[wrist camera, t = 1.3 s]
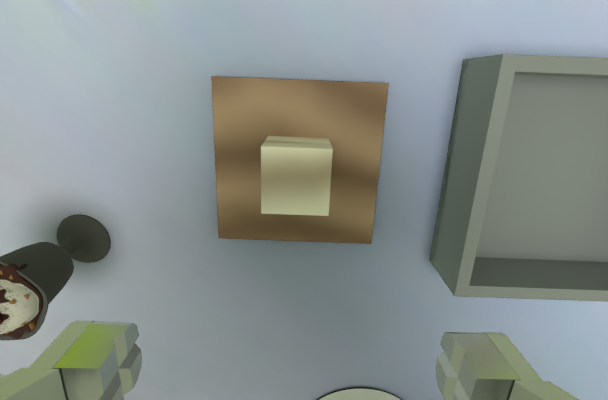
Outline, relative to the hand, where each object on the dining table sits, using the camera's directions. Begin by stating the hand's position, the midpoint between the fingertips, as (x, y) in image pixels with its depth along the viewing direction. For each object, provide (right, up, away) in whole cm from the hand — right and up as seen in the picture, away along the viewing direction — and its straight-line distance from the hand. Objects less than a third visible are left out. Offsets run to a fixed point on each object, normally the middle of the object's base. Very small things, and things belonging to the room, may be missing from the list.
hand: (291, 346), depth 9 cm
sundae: (-20, 0, +24) cm, 32 cm away
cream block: (0, +7, +21) cm, 22 cm away
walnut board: (0, +7, +22) cm, 23 cm away
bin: (+22, +6, +22) cm, 31 cm away
